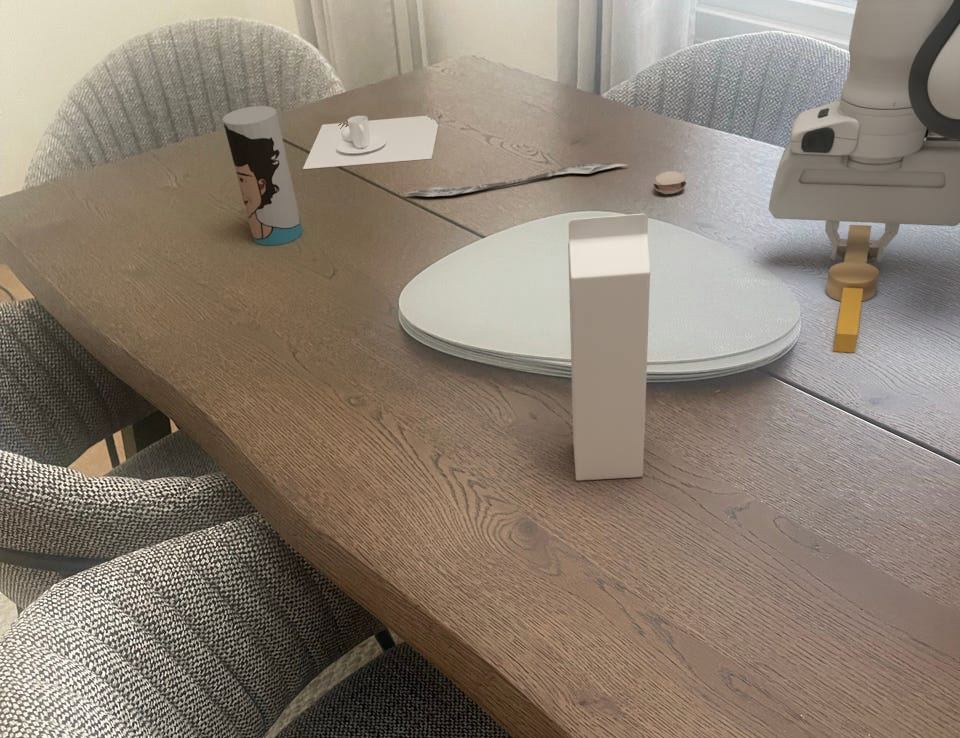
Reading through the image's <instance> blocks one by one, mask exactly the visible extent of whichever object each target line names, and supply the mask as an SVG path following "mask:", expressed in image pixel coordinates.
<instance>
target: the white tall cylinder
mask: <svg viewBox="0 0 960 738" xmlns="http://www.w3.org/2000/svg"><path fill="white" fill-rule="evenodd" d="M222 123H223V127H224V130H225V133H226V138H227V142H228V146H229V150H230V153H231V157H232V161H233V166H234V170H235V173H236V177H237V181H238V185H239V188H240V193H241V197H242V200H243V205H244V208H245V212H246V216H247V221H248V224H249V227H250V231H251V235H252V239H253V242H254V243H256V244H258V245H260V246H269V247H270V246H280V245H284V244H288V243H291V242H294V241H295V240H297V239H298V238H300V236H301V235H302V234H303V227H302V222H301V216H300V212H299V207H298V203H297V199H296V195H295V190H294V186H293V180H292V176H291V171H290V167H289V162H288V157H287V153H286V148H285V144H284V140H283V135H282V130H281V126H280V121H279V117H278V112H277V110H276V108H274V107H272V106H266V105H255V106H247V107H243V108H239V109H236V110H232V111H231V112H228V113H226V114H225V115H224V116H223V118H222Z"/></svg>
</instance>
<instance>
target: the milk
mask: <svg viewBox="0 0 960 738" xmlns="http://www.w3.org/2000/svg"><path fill="white" fill-rule="evenodd" d="M648 229H649V217H648V215H647V214H646V213H636V214H635V213H633V214H621V215H620V214H619V215H608V216H594V217H581V218H572V219H571V220H569V222H568V245H567V249H568V251H567V252H568V254H567V255H568V256H567V257H568V286H569V287H568V291H569V326H570V327H569V328H570V329H569V330H570V331H569V332H570V333H569V334H570V366H571V368H570V369H571V372H570V373H571V404H572V405H571V406H572V409H571V410H572V445H573V458H574V459H573V460H574V470H575V471H574V472H575V480H576V481H593V480H594V481H595V480H611V479H613V480H614V479H629V478H630V479H631V478H643V476H644V459H645V458H644V457H645V454H644V453H645V452H644V451H645V429H646V423H645V422H646V403H647V402H646V401H647V400H646V398H647V375H648V373H647V372H648V347H649V345H648V343H649V316H650V292H651V291H650V288H651V263H650V262H651V261H650V251H649V248H650V247H649V235H648V233H649V231H648Z"/></svg>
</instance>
